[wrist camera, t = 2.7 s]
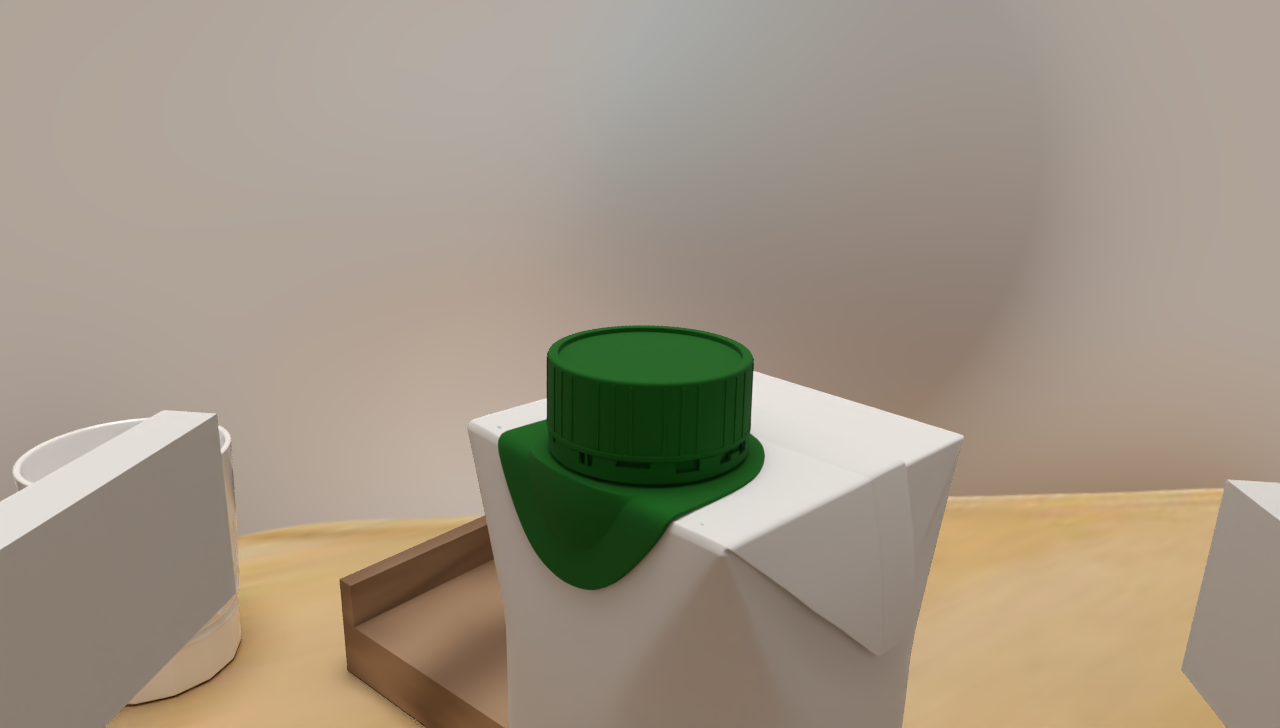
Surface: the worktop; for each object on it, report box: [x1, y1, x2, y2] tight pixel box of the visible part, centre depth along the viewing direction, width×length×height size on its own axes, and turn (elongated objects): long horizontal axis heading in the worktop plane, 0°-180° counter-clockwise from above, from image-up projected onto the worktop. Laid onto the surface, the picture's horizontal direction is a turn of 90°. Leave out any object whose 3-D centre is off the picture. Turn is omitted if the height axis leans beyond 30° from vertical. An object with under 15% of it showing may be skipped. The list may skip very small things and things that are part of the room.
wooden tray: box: [340, 516, 509, 728], centre depth 40 cm, size 14×14×4 cm
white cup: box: [12, 418, 241, 704], centre depth 39 cm, size 8×8×10 cm
